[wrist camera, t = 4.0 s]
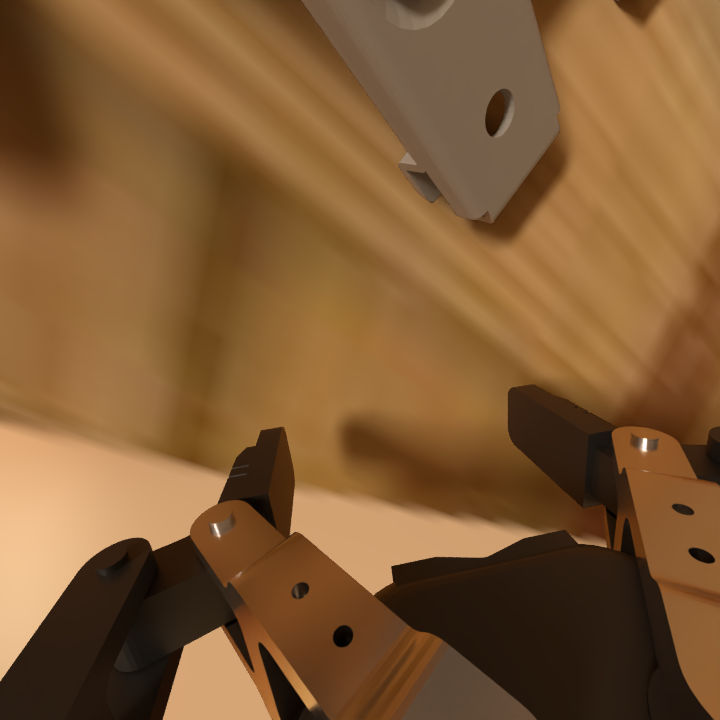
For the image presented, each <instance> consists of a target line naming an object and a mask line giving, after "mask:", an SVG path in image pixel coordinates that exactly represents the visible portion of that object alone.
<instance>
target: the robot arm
mask: <svg viewBox="0 0 720 720" xmlns="http://www.w3.org/2000/svg"><path fill="white" fill-rule="evenodd" d="M508 431H509V435H510V438H511V440H512V442H513V443H514V445H515V446H516V447H517V448H518V449H520V450H521V451H522V452H523V453H524V454H525V455H526V456H527V457H528V458H529V459H530V460H532V461H533V462H534V463H535V464H536V465H537V466H538V467H539V468H540V469H541V470H542V471H543V472H545V473H546V474H547V475H548V476H549V477H550V478H551V479H552V480H553V481H554V482H555V483H556V484H558V485H559V486H560V487H561V488H562V489H563V490H564V491H565V492H566V493H567V494H568V495H570V496H571V497H572V498H573V499H574V500H575V501H576V502H577V503H578V504H579V505H580V506H581V507H583V508H586V507H590V506H595V505H600V504H603V505H604V506H605V508H604V525H605V534H606V542H607V548H605V547H600V546H595V545H586V544H578V543H577V542H576V541H575V540H574V539H573V538H572V537H571V536H570V535H569V533H568V532H567V531H566V530H561V531H557V532H552V533H547V534H542V535H538V536H533V537H528V538H524V539H522V540H520V541H518V542H516V543H514V544H512V545H510V546H508V547H506V548H504V549H502V550H500V551H498V552H496V553H494V554H493V555H491V556H488V557H484V558H460V557H455V558H454V557H434V558H429V559H424V560H419V561H415V562H410V563H405V564H400V565H395V566H392V567H391V568H392V576H393V583H392V584H390V585H388V586H386V587H385V588H383V589H382V590H380V591H379V592H377V593H376V594H375V595H374V596H373V595H372V594H371V593H370V592H369V591H367V590H366V589H365V588H364V587H363V586H362V585H360V584H359V583H358V582H357V581H356V580H354V579H353V578H352V577H351V576H350V575H349V574H348V573H346V572H345V571H344V570H343V569H342V568H341V567H339V566H338V565H337V564H336V563H335V562H334V561H332V560H331V559H330V558H329V557H328V556H327V555H325V554H324V553H323V552H322V551H321V550H319V549H318V548H317V547H316V546H315V545H314V544H312V543H311V542H310V541H309V540H308V539H307V538H305V537H304V536H303V535H302V534H300V533H298V532H294V533H293V534H292V535H290V527H291V516H292V506H293V496H294V486H295V479H294V470H293V464H292V460H291V455H290V450H289V446H288V441H287V436H286V432H285V429H284V427H278V428H273V429H267V430H261V432H260V435H259V438H258V441H257V444H256V446H253V447H247V448H246V449H245V450H244V451H243V452H242V453H241V454H240V455H239V456H238V457H237V458H236V460H235V462H234V465H233V467H232V468H233V469H232V470H231V472H230V475H229V478H228V479H227V482H226V484H225V487H224V489H223V492H222V494H221V497H220V499H219V501H218V504H217V505H215V506H213V507H211V508H209V509H208V510H207V511H205V512H204V513H202V514H201V515H200V516H199V517H198V518H197V519H196V520H195V522H194V523H193V525H192V527H191V530H190V535H189V536H187V537H185V538H183V539H181V540H179V541H176V542H174V543H172V544H169V545H167V546H164V547H162V548H160V549H157V550H155V551H152V548H151V545H150V543H149V541H147V540H146V539H143V538H131V539H126V540H123V541H120V542H117V543H115V544H113V545H111V546H109V547H107V548H105V549H104V550H102V551H101V552H99V553H98V554H96V555H95V556H93V557H92V558H91V559H90V560H89V561H88V562H86V563H85V565H84V566H83V567H82V568H81V569H80V570H79V571H78V573H77V574H76V576H75V577H74V579H73V580H72V581H71V582H70V584H69V585H68V587H67V588H66V590H65V591H64V592H63V594H62V595H61V597H60V598H59V599H58V601H57V602H56V604H55V605H54V606H53V608H52V609H51V611H50V612H49V614H48V615H47V616H46V618H45V619H44V621H43V622H42V623H41V625H40V626H39V628H38V629H37V631H36V632H35V633H34V635H33V636H32V638H31V639H30V641H29V642H28V643H27V645H26V646H25V648H24V649H23V650H22V652H21V653H20V654H19V656H18V657H17V659H16V660H15V662H14V663H13V664H12V666H11V667H10V669H9V670H8V671H7V673H6V674H5V676H4V677H3V678H2V680H1V681H0V720H163V716H164V713H165V709H166V706H167V702H168V699H169V695H170V692H171V689H172V685H173V682H174V678H175V675H176V672H177V668H178V665H179V661H180V658H181V654H182V651H183V648H184V646H185V645H186V644H189V643H190V642H192V641H194V640H196V639H198V638H200V637H202V636H204V635H205V634H207V633H209V632H211V631H213V630H215V629H217V628H219V627H222V629H223V631H224V633H225V634H226V636H227V638H228V639H229V641H230V643H231V644H232V646H233V648H234V649H235V651H236V652H237V654H238V656H239V658H240V660H241V661H242V663H243V665H244V666H245V668H246V670H247V671H248V673H249V675H250V677H251V678H252V680H253V682H254V683H255V685H256V687H257V689H258V691H259V693H260V694H261V697H262V699H263V701H264V703H265V706H266V708H267V710H268V712H269V715H270V717H271V718H272V720H720V427H715V428H712V429H711V430H710V431H709V436H708V441H707V445H680V444H679V442H678V441H677V440H676V439H674V438H673V437H671V436H670V435H668V434H665V433H663V432H660V431H657V430H653V429H649V428H644V427H632V426H629V427H620V428H617V427H616V426H614V425H612V424H610V423H608V422H607V421H605V420H603V419H601V418H599V417H597V416H596V415H594V414H592V413H588V411H586V410H585V409H583V408H581V407H580V408H579V407H578V406H577V405H575V404H574V403H572V402H570V401H568V400H566V399H563V398H560V397H556V396H553V395H552V394H550V393H548V392H546V391H544V390H543V389H541V388H539V387H537V386H535V385H533V384H531V385H525V386H519V387H513V388H511V389H510V390H509V392H508Z"/></svg>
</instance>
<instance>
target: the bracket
mask: <svg viewBox="0 0 720 720" xmlns="http://www.w3.org/2000/svg"><path fill="white" fill-rule="evenodd" d="M301 1H302V2H303V4H304V5H305V7H306V8H307V9H308V11H309V12H310V14H311V15H312V17H313V18H314V19H315V21H316V22H317V24H318V25H319V27H320V28H321V29H322V31H323V32H324V34H325V35H326V36H327V38H328V39H329V41H330V42H331V44H332V45H333V46H334V48H335V49H336V51H337V52H338V53H339V55H340V56H341V58H342V59H343V61H344V62H345V63H346V65H347V66H348V68H349V69H350V70H351V72H352V73H353V75H354V76H355V78H356V79H357V80H358V82H359V83H360V85H361V86H362V88H363V89H364V90H365V92H366V93H367V95H368V96H369V97H370V99H371V100H372V102H373V103H374V105H375V106H376V107H377V109H378V110H379V112H380V113H381V114H382V116H383V117H384V119H385V120H386V122H387V123H388V124H389V126H390V127H391V129H392V130H393V132H394V133H395V134H396V136H397V137H398V139H399V140H400V141H401V143H402V144H403V146H404V147H405V149H406V150H407V152H406V154H405V155H404V157H403V158H402V160H401V161H400V163H399V168H400V170H401V171H402V172H403V174H404V175H405V176H406V178H407V179H408V180H409V182H410V183H411V184H412V186H413V187H414V188H415V190H416V191H417V192H418V193H419V194H420V195H421V196H422V197H423V198H424V199H426V200H428V201H431V202H435V201H436V199H437V198H438V196H439V195H440V193H441V194H442V195H443V196H444V198H445V199H446V201H447V202H448V203H449V205H450V206H451V208H452V209H453V211H454V212H455V213H456V215H457V216H459V217H463V218H467V219H470V220H474V219H475V220H479V221H482V222H486V223H493V222H494V221H495V219H496V218H497V217H498V215H499V214H500V213H501V211H502V210H503V208H504V207H505V206H506V204H507V203H508V202H509V200H510V199H511V198H512V196H513V195H514V194H515V192H516V191H517V190H518V188H519V187H520V185H521V184H522V183H523V181H524V180H525V179H526V177H527V176H528V175H529V173H530V172H531V171H532V169H533V168H534V167H535V165H536V164H537V163H538V161H539V160H540V158H541V157H542V156H543V154H544V153H545V152H546V150H547V149H548V148H549V146H550V145H551V144H552V142H553V141H554V140H555V138H556V137H557V136H558V134H559V133H560V126H559V123H558V120H557V115H558V113H559V111H560V104H559V101H558V97H557V93H556V90H555V86H554V82H553V79H552V75H551V71H550V68H549V64H548V60H547V57H546V53H545V49H544V46H543V42H542V38H541V35H540V31H539V28H538V24H537V20H536V17H535V13H534V9H533V6H532V2H531V0H301ZM616 1H618V0H616ZM497 91H500V92H501V93H502V95H503V97H504V101H505V111H504V116H503V120H502V123H501V125H500V127H499V128H498V130H497V131H496V132H495V134H493V135H492V136H489V134H488V133H487V130H486V126H485V115H486V110H487V107H488V104H489V102H490V100H491V98H492V97H493V95H494V94H495V93H496V92H497Z"/></svg>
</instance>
